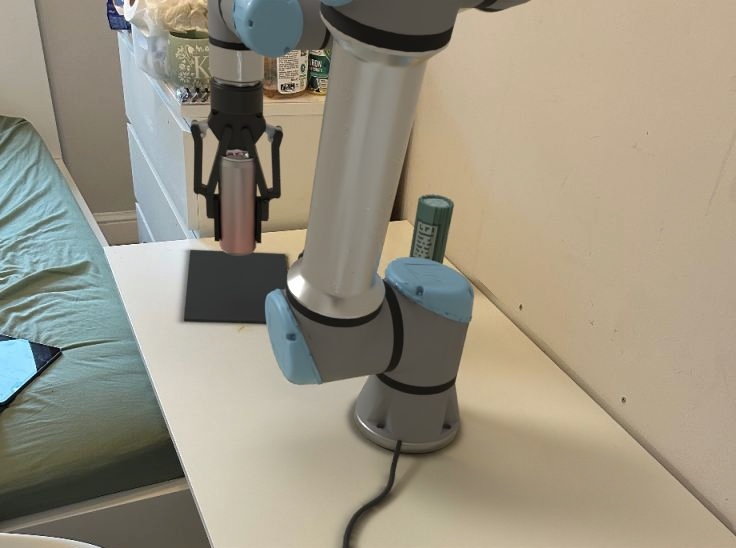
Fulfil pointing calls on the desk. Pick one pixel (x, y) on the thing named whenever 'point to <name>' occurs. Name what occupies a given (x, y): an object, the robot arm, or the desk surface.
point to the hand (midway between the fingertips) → (237, 238)
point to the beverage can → (237, 203)
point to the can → (431, 227)
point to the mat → (232, 285)
